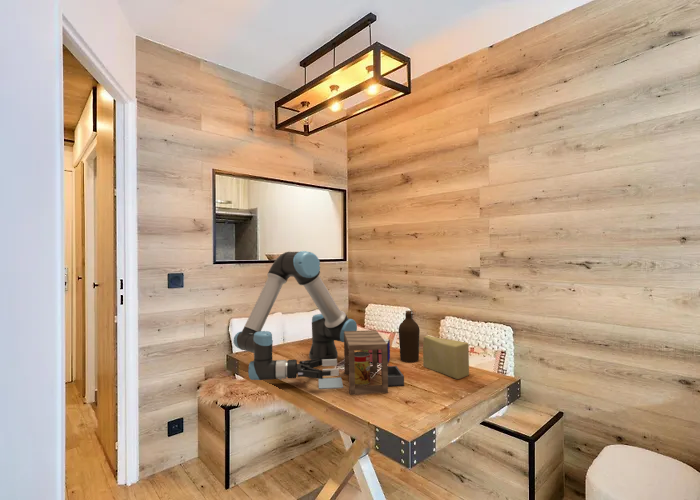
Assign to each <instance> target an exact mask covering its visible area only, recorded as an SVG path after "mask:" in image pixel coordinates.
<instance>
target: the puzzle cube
mask: <svg viewBox="0 0 700 500" xmlns="http://www.w3.org/2000/svg"><path fill="white" fill-rule="evenodd" d="M383 339H384V341H385V342H386V343H387V357H388V363H390V359H391V350H390V349H391V348H390V347H391V341H390V339H389V338H387V339H386V338H383ZM368 353H370V362H372V350H368ZM377 364H382V352H381V350H377Z"/></svg>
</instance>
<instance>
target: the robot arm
mask: <svg viewBox="0 0 700 500" xmlns="http://www.w3.org/2000/svg"><path fill="white" fill-rule="evenodd" d="M320 275H321V262H320V258H319V257H318V256H317V254H315V253H314V252H311V251H307V250H302V251H286V252H283V253H282V254H279V256H278V257H277V258H276V259H275V260H274V262H273V263H272V264H271V266H270V267H269V270H268V272H267V280H266V281H265V283H264V286H263V287H262V288H261V289H262V290H261V291H260V293H259V296H258V298H257V299H256V302H255V304H254V306H253V308H252V310H251V312H250V314H249V316H248V319H247V321H246V322H245V324H244V327H243V328H242V330H241V331H238V332H237V333H236V334H235V335H234V337H233V344H234V346H235V347H236V348H237V349H240V350H241V351H246V352H249V353H252V354H253V360H252V361H250V362H249V363H248V378H249V379H250V380H252V381H265V380H279V381H282V380H285V379H297V377H298V378H300V377H301V378H302V377H303V378H310V379H323V378H324V377H337V376H338V377H339V376H340V368H323V369H318V367H321V366H322V367H336V366H338V357H339V356H338V354H339V353H338V349H337V347H336V343H335V341H337V342H341V343H344V331H358V325H357V322H356V321H355V320H354V319H352V318H349V317H348V315H347V314H346V312H345V311H343V310H341V309H340V308H339V307H338V305H337V303H336V301H335V300H334V298H333V297H332V295H331V293H330V292H329V289H328V288H327V286H326V284H325V283H324V281H323V279H322V278H321V276H320ZM290 277H292V278H294V279H295V280H296V282H297V284H298V285H299V286H303V287H304V288H305V290H306V292H307V293H308V295H309V296H310V298H311V299H312V301H313V303H314V304H315V306H316V308H317V309H318V310H319V312H320V313H319V314H318V313H317V314H314V315H312V317H311V340H312V341H311V342H312V343H311V346H310V350H309V354H308V358H309V359H307V360H300V361H298V360H297V359H288V360H286V359H275V360H273V341H274V340H273V333H272V332H270V331H268V330H262V329H263V328H264V326H265V323H266V321H267V319H268V317H269V315H270V313H271V311H272V309H273V307H274V304H275V301H276V300H277V297H278V295H279V293H281V292H280V291H281V289H282V287H283V285H284V284H286V283H287V281H288V279H289V278H290ZM298 362H299V363H298Z"/></svg>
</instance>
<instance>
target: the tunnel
mask: <svg viewBox="0 0 700 500" xmlns="http://www.w3.org/2000/svg"><path fill="white" fill-rule="evenodd" d="M384 339H385V338H383V337H382V335H381V334H380V333H379V332H378V331H377V330H376V329H372V330H357V331H344V342H343V352H344V353H343V354H344V355H343V356H344V357H343V363H344V364H343V365H344V368H343V369H344V375H349V377H348V381H349V385H348V386H349V389H348V390H349V395H351V396H352V395H371V394H386V393H387V394H388V393H389V387H388V364H389V362H388V357H387V343H386V342H385V341H384ZM362 350H372V363H371V365H370V372H377V373H378V363H377V350H381V352H382V363H381V367H382V376H381V384H372V385H371V384H370V385H369V384H367V385H355V355H354V352H357V351H362Z"/></svg>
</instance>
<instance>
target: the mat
mask: <svg viewBox="0 0 700 500" xmlns="http://www.w3.org/2000/svg"><path fill="white" fill-rule="evenodd" d="M317 379H318V378H317ZM330 389H332V390H333V389H344V385H343V379H342V377H341V376H340V377H339V376H338V377H323V379H318V390H330Z"/></svg>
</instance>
